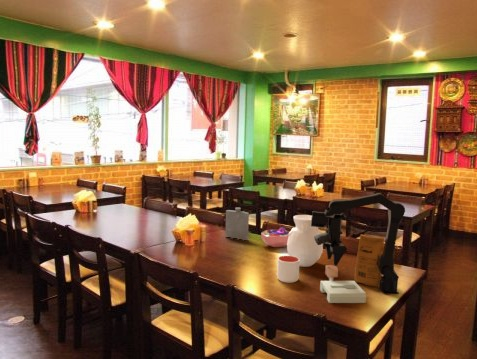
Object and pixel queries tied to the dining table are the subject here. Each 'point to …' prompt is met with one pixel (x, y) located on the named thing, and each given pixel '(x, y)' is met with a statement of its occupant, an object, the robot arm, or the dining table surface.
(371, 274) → the coffee package
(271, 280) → the dining table surface
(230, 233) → the hip flask
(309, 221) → the white vase
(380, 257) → the robot arm
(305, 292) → the dining table surface
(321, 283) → the keyhole plate
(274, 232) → the cell model
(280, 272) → the cup
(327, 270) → the peg
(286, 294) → the dining table surface
